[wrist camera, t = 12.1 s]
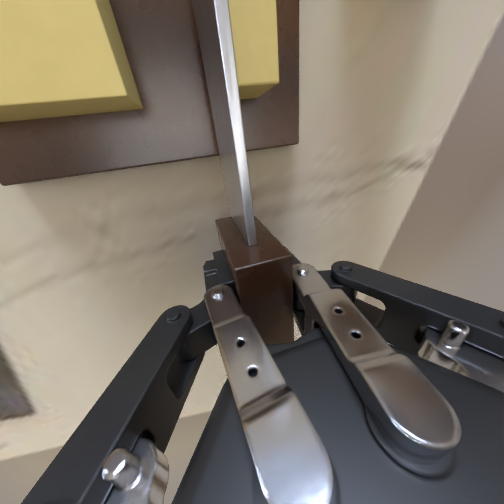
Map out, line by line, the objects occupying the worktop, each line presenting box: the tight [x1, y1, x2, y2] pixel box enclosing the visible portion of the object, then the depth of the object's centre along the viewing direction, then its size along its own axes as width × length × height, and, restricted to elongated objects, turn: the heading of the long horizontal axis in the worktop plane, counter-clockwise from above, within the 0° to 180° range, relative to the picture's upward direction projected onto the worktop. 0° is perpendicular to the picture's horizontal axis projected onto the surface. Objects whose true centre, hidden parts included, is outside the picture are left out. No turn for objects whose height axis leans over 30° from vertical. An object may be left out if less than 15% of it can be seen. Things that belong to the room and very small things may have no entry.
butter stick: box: [0, 0, 143, 122], centre depth 7 cm, size 4×7×3 cm, turn 97°
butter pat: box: [228, 0, 279, 100], centre depth 8 cm, size 4×2×3 cm, turn 7°
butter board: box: [0, 0, 299, 186], centre depth 9 cm, size 9×16×1 cm, turn 97°
